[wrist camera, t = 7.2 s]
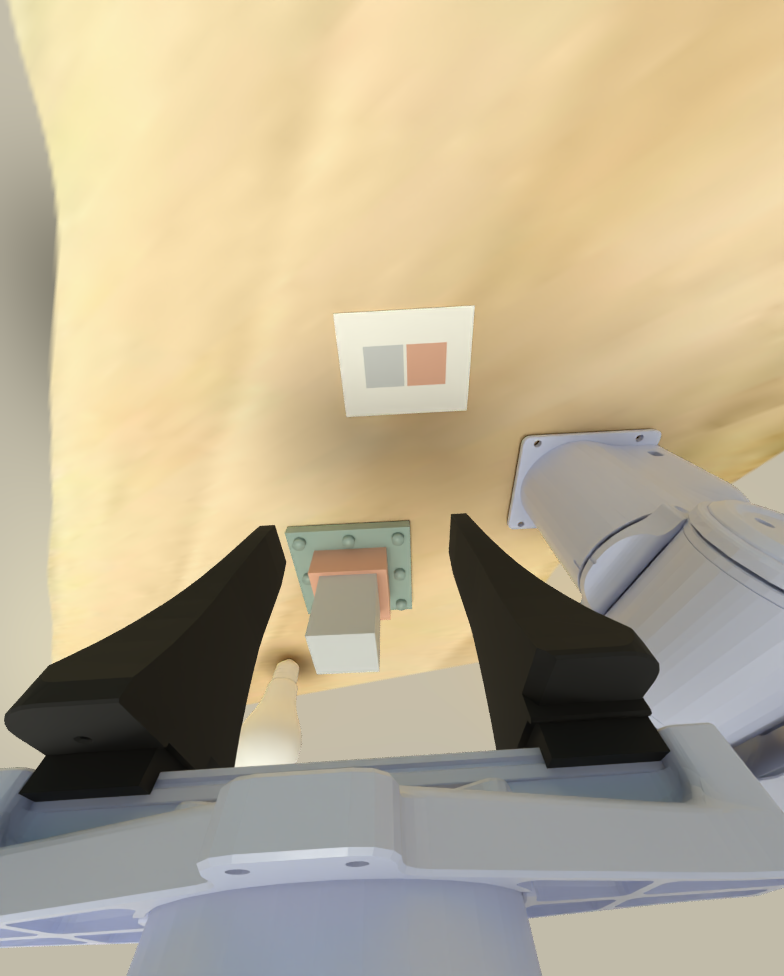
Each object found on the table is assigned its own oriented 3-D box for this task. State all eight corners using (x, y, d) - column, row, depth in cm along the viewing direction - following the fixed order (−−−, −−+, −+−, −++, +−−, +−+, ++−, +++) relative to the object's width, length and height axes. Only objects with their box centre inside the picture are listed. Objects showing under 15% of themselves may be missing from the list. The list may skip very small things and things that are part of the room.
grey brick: (376, 573, 24) (374, 633, 20) (380, 610, 26) (379, 671, 22) (319, 576, 24) (305, 636, 20) (328, 613, 26) (317, 674, 22)
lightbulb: (303, 680, 38) (275, 807, 28) (254, 665, 36) (207, 796, 26) (326, 655, 35) (304, 786, 26) (274, 638, 33) (231, 771, 24)
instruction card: (474, 305, 18) (474, 305, 17) (466, 409, 21) (466, 410, 21) (333, 313, 18) (332, 313, 18) (346, 416, 21) (346, 417, 21)
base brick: (386, 547, 26) (386, 569, 24) (390, 595, 29) (390, 619, 27) (314, 550, 26) (307, 573, 24) (325, 599, 29) (321, 622, 27)
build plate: (409, 520, 25) (410, 530, 24) (411, 601, 31) (412, 613, 29) (287, 526, 25) (283, 537, 24) (310, 606, 31) (307, 618, 30)
